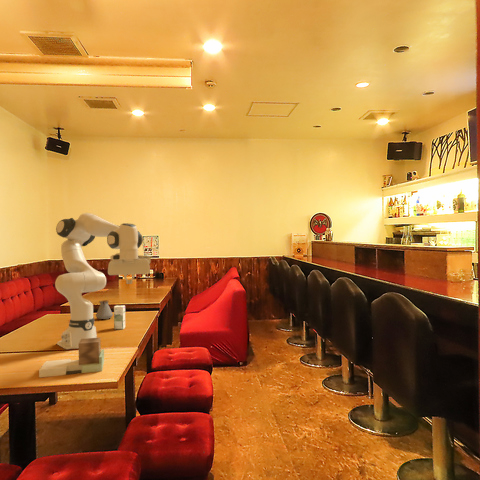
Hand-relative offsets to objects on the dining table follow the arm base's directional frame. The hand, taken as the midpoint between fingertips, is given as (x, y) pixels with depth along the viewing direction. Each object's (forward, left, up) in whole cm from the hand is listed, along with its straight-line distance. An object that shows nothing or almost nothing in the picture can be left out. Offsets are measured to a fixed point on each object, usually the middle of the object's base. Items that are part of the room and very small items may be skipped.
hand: (129, 283), depth 184 cm
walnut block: (+4, -25, -31) cm, 40 cm away
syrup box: (-47, +29, -34) cm, 65 cm away
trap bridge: (0, -30, -34) cm, 45 cm away
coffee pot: (-78, +39, -34) cm, 94 cm away
